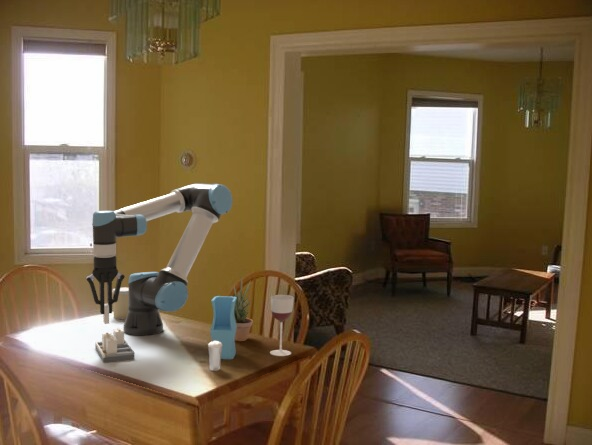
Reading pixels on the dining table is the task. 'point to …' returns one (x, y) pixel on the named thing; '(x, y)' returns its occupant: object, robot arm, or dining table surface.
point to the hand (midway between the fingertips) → (106, 322)
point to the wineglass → (281, 316)
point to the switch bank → (122, 353)
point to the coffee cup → (121, 303)
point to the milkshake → (214, 355)
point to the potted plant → (242, 315)
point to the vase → (224, 324)
